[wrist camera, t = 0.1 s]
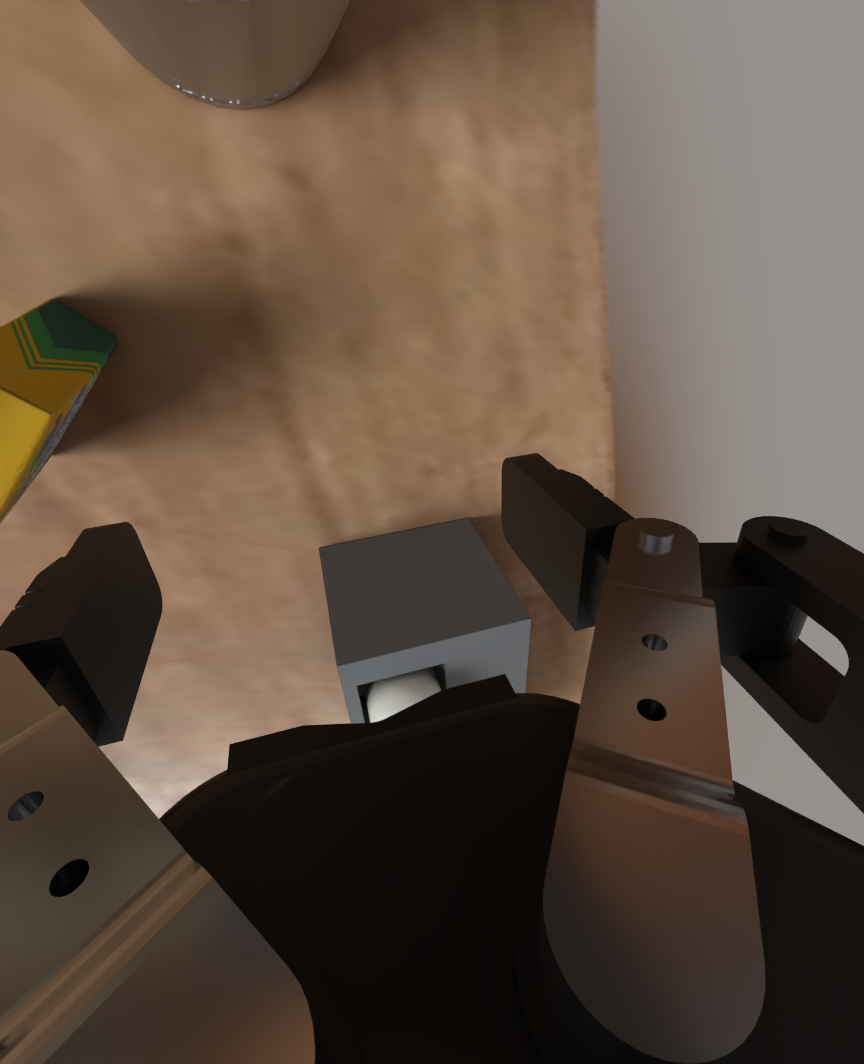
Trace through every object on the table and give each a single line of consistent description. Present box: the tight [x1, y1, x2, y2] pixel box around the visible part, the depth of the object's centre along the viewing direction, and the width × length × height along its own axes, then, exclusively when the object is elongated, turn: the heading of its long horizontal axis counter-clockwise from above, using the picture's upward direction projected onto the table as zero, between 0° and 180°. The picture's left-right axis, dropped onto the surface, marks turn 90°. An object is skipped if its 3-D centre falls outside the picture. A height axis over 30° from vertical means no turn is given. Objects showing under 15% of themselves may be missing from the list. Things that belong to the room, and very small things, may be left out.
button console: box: [319, 518, 531, 724], centre depth 35 cm, size 22×10×10 cm, turn 4°
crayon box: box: [0, 298, 119, 523], centre depth 19 cm, size 7×3×12 cm, turn 138°
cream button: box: [365, 667, 441, 723], centre depth 26 cm, size 4×4×3 cm
